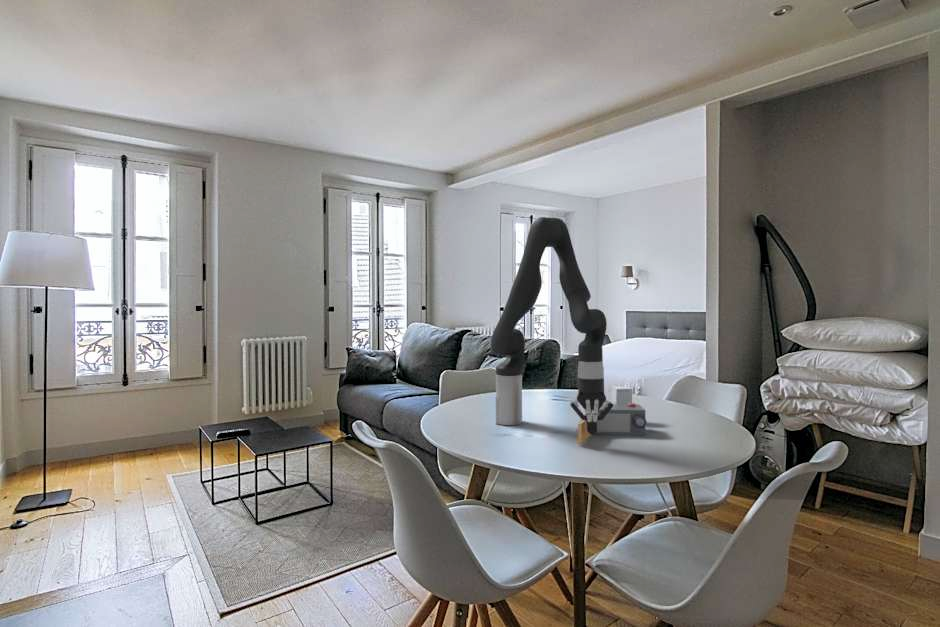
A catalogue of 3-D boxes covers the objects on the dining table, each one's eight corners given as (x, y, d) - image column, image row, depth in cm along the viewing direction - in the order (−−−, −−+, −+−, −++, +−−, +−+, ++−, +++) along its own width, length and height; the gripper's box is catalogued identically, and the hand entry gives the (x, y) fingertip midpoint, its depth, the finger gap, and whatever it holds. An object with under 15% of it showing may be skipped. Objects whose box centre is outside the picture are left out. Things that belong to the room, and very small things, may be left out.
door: (588, 432, 166) (588, 411, 165) (594, 433, 165) (594, 412, 165) (575, 444, 152) (575, 422, 152) (581, 445, 151) (581, 422, 151)
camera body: (588, 435, 164) (589, 408, 164) (584, 426, 175) (584, 401, 174) (646, 436, 162) (646, 409, 162) (638, 427, 173) (639, 402, 173)
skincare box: (616, 423, 180) (616, 388, 179) (610, 420, 184) (611, 386, 184) (632, 422, 180) (632, 388, 180) (627, 419, 185) (627, 386, 184)
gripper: (569, 378, 149) (570, 437, 149) (615, 377, 148) (616, 437, 148) (567, 374, 157) (568, 430, 157) (611, 374, 155) (612, 430, 155)
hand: (592, 433), depth 152 cm, fingers closed
